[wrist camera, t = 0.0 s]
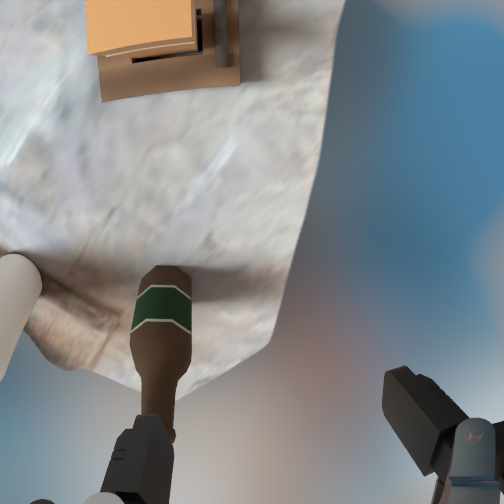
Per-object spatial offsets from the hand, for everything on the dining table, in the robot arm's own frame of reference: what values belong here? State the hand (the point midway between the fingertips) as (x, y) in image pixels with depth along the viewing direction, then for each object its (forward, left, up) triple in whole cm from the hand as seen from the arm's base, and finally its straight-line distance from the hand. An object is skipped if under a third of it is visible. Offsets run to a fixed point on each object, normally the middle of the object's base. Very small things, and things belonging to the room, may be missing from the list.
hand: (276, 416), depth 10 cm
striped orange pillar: (-14, +6, -31) cm, 35 cm away
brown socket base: (-14, +6, -31) cm, 35 cm away
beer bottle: (+6, -20, -32) cm, 38 cm away
